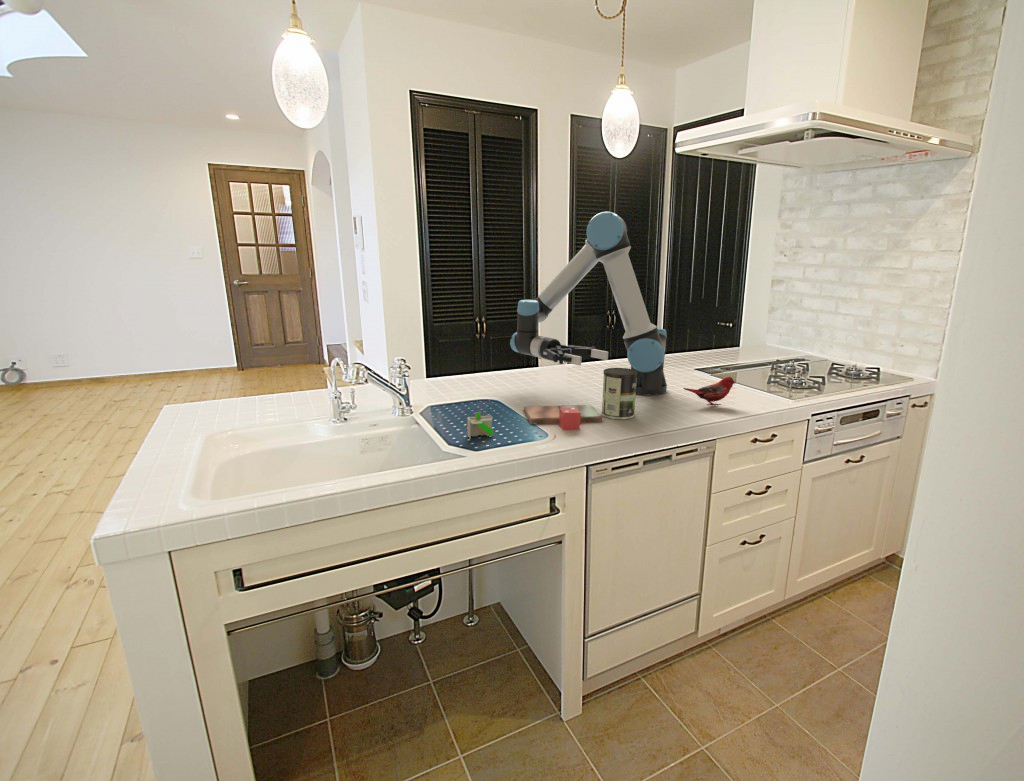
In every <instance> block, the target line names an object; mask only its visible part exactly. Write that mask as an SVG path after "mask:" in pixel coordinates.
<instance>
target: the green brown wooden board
mask: <svg viewBox="0 0 1024 781" xmlns="http://www.w3.org/2000/svg"><path fill="white" fill-rule="evenodd" d="M560 408H577V409H578V410H579V411H580V424H581V423H603V417H604V416H603V415H602V414H601V413H599V411H598V410H596V408H594V406H592V404H571V405H569V404H568V405H566V404H565V405H564V404H562V405H538V406H537V405H533V406H528V405H527V406H523V413H524V415H525V417H526V419H527V418H528V419H527V420H529V421H528V423H529V422H530V423H537V424H536V425H551V424H553V425H554V424H559V410H560ZM530 423H529V424H530Z"/></svg>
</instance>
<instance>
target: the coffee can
mask: <svg viewBox="0 0 1024 781" xmlns="http://www.w3.org/2000/svg"><path fill="white" fill-rule="evenodd" d="M637 374H638V372H637V371H636V370H633V369H631V368H628V367H627V368H626V367H608V368H605V369H603V384H602V386H603V387H602V401H601V402H602V404H601V405H602V406H601V416H602V417H605V418H608V419H613V420H630V419H632V418H634V417H635V410H636V409H635V408H636V382H637Z"/></svg>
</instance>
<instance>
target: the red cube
mask: <svg viewBox="0 0 1024 781" xmlns="http://www.w3.org/2000/svg"><path fill="white" fill-rule="evenodd" d="M558 425H559V426H560V428H561V430H562V431H564V430H566V431H568V430H580V428H581V423H580V411H579V410H578V409H577V408H560V410H559V423H558Z"/></svg>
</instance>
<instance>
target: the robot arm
mask: <svg viewBox="0 0 1024 781" xmlns="http://www.w3.org/2000/svg"><path fill="white" fill-rule="evenodd" d="M586 237H587V238H586V239H585V243H584V245H583V246H582V248H581V249H580V250H579V251H578V252H577V253H576V254H575V256H573V257H572V258H571V259H570V261H569V262H567V264H566V265H565V266H564V268H563V269H561V271H560V272H559V273H558V274H557V275H556V276H555V277H554V279H552V281H550V283H549V284H548V285H547V286H546V287H545V289H543V291H542V292H541V293H540V294H539V295H537V297H536V298H535V299H521V300H519V301H517V302H518V303H517V308H516V311H517V318H516V321H517V322H516V323H517V324H516V325H517V326H516V332H514V333H513V334H512V335H511V338H510V341H509V346H510V348H511V350H512V351H514V352H516V353H519V354H521V355H526V356H531V357H536V358H538V359H539V360H542V359H544V360H548V361H550V362H551V361H553V363H558V362H559V363H558V364H559V365H563V364H564V363H566V364H570V365H571V364H572V365H576V366H579V367H580V366H582V356H585V357H591V358H595V359H599V360H604V361H608V360H609V351H605V350H600V349H597V348H596V347H595V346H592V347H590V346H579V345H572V344H568V345H566V344H561V342H560V341H559V340H558V339H556V338H552V337H547V336H541V335H538V332H539V323H542V322H544V321H546V319H547V318H548V317H549V315H550V313H552V312H553V311H554V309H555V308H556V307H558V305H559V304H560V303H561V302H562V301H563V300H564V299H565V298H566V296H567V295H568V294H569V293H570V292H572V290H574V289H575V287H576V286H577V285H578V283H580V282H581V281H582V280H583V279H584V278H585V277H586V275H587V274H588V273H589V272H590V271H592V269H593V268H594V267H595V266H596V265H597V264H598V263H599V262H600V263H602V264H603V267H604V271H605V273H606V276H607V280H608V283H609V286H610V288H611V292H612V295H613V298H614V301H615V304H616V306H617V310H618V314H619V315H620V319H621V322H622V325H623V328H624V330H625V332H624V334H623V336H622V339H623V342H624V345H625V348H626V351H627V353H626V354H627V355H626V357H627V361H628V363H629V364H630V369H633V370H636V371H637V372H638V374H637V382H636V393H639V394H638V395H643V394H650V395H649V396H653V395H654V394H658V395H663V394H665V393H667V391H668V389H667V388H668V384H667V381H666V376H665V372H664V367H665V356H666V342H667V337H668V336H667V330H666V329H664V328H658V327H657V325H655V324H654V323H652V322H651V320H650V317H649V313H648V311H647V307H646V304H645V302H644V299H643V296H642V292H641V289H640V286H639V283H638V280H637V277H636V273H635V271H634V269H633V264H632V262H631V259H630V256H629V252H630V251H631V248H632V246H631V243H630V240H629V237H628V227H627V224H626V222H625V220H624V218H622V217H621V216H620V215H618V214H617V213H615V212H612V211H601V212H599V213H597V214H596V215H594V216H593V217H592V218H591V219H590V220H589V221H588V224H587V226H586ZM662 393H663V394H662ZM654 396H655V395H654Z"/></svg>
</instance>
